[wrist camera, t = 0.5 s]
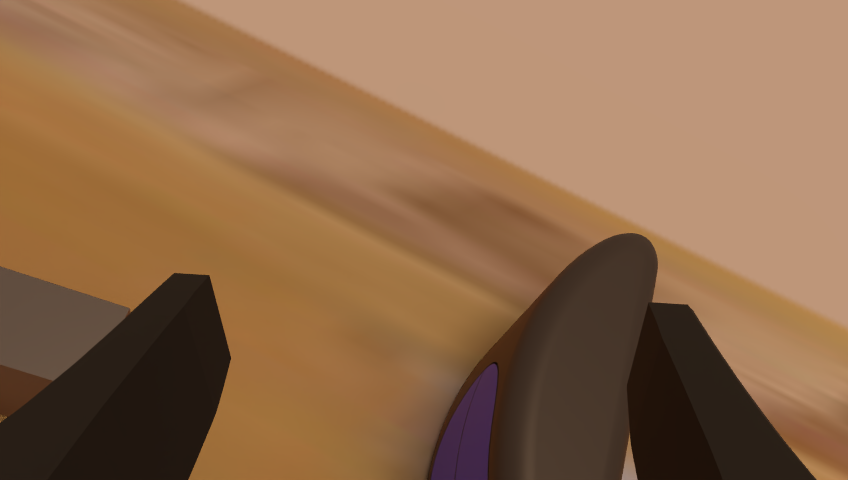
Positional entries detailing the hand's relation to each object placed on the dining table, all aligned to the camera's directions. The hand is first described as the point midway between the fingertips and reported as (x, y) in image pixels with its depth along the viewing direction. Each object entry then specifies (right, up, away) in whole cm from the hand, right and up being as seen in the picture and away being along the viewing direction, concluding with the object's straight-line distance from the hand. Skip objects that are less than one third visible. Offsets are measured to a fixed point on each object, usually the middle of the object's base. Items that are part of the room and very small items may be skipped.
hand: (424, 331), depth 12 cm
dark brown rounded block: (+4, -9, +19) cm, 21 cm away
